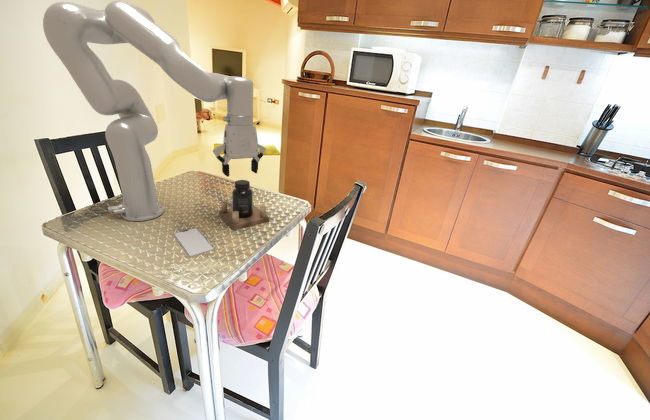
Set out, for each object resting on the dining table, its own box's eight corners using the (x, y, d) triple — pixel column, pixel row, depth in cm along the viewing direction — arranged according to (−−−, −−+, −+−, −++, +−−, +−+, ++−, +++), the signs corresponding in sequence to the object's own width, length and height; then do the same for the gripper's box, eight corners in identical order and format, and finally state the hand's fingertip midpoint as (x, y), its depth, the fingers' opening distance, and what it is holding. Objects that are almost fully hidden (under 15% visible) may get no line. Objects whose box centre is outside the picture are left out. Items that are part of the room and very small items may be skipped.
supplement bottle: (256, 212, 105) (256, 181, 100) (245, 220, 99) (244, 187, 94) (241, 208, 107) (240, 177, 102) (228, 215, 102) (227, 182, 96)
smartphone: (189, 257, 80) (172, 233, 90) (189, 259, 81) (172, 235, 90) (215, 249, 85) (196, 227, 95) (215, 250, 85) (197, 229, 95)
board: (233, 230, 96) (232, 215, 93) (218, 214, 105) (217, 200, 102) (269, 221, 103) (269, 207, 101) (252, 207, 112) (252, 194, 110)
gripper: (216, 123, 82) (219, 180, 89) (271, 123, 92) (269, 174, 100) (207, 118, 87) (210, 172, 94) (260, 118, 98) (259, 167, 105)
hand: (240, 173), depth 97 cm, fingers open, 9 cm apart
